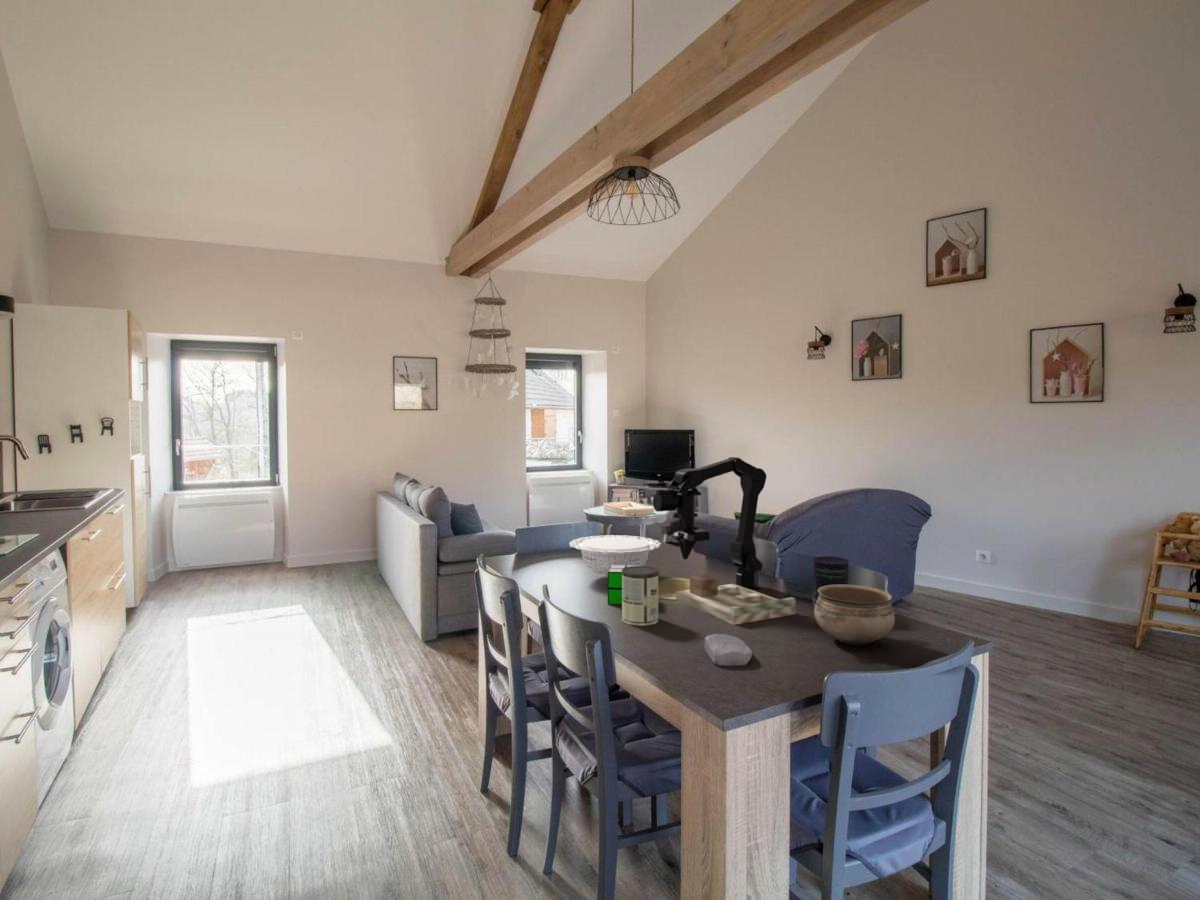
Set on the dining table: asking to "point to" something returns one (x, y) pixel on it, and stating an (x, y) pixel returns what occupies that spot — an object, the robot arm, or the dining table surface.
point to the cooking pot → (854, 613)
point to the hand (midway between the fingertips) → (685, 558)
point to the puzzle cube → (615, 584)
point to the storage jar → (829, 573)
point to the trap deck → (739, 604)
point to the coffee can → (640, 595)
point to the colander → (614, 550)
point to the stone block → (727, 650)
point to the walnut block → (703, 585)
